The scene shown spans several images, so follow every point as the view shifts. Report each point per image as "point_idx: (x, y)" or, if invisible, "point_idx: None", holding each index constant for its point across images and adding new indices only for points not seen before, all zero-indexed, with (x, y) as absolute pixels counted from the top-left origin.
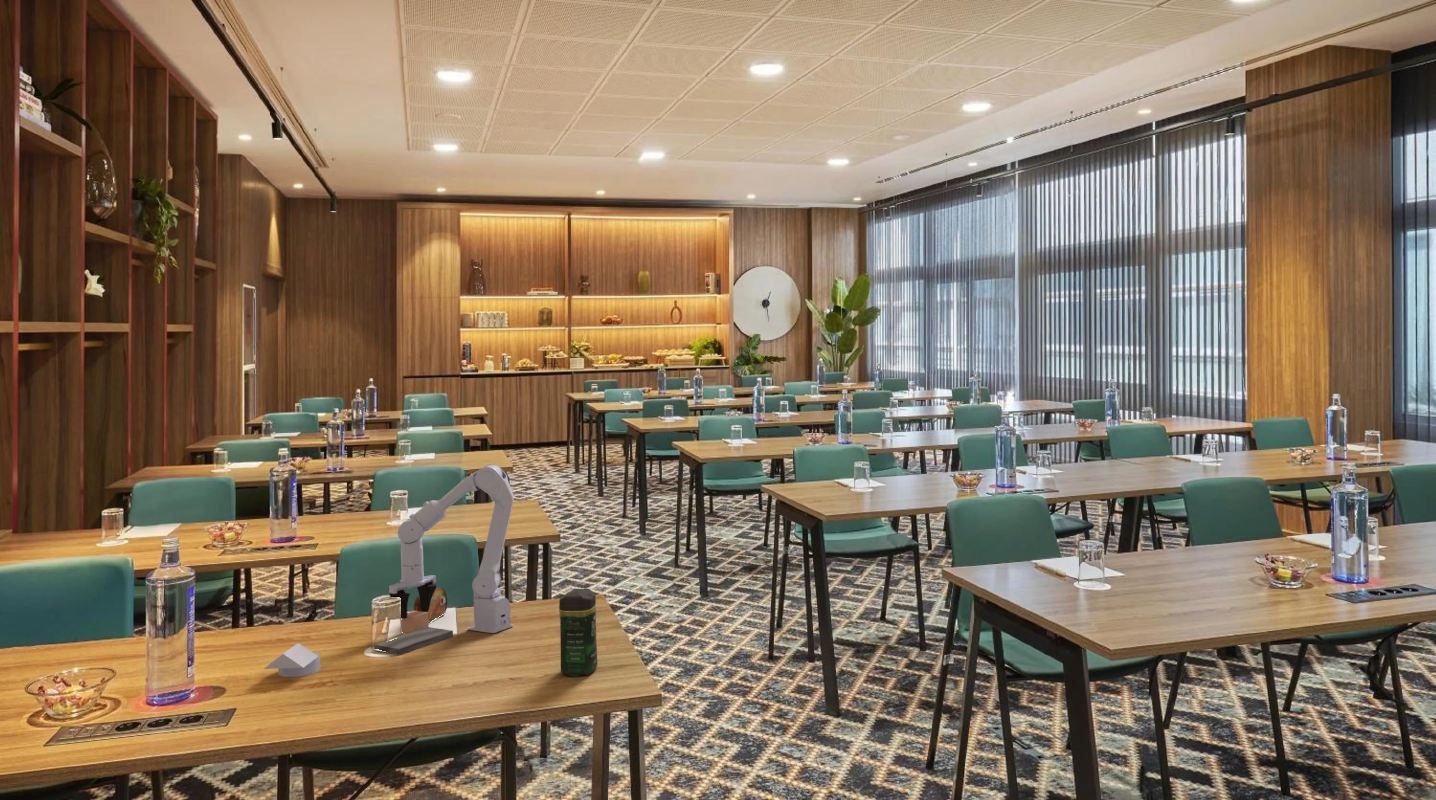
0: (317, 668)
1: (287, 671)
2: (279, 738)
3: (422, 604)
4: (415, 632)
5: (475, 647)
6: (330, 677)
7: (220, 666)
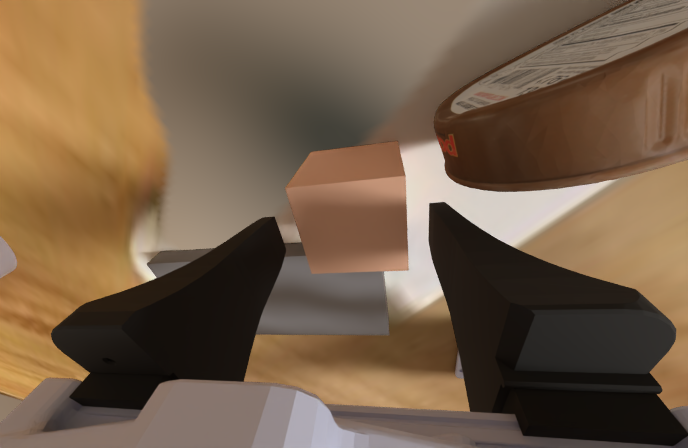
0: (6, 274)
1: None
2: (24, 397)
3: (439, 237)
4: (304, 267)
5: (352, 388)
6: (53, 316)
7: None
